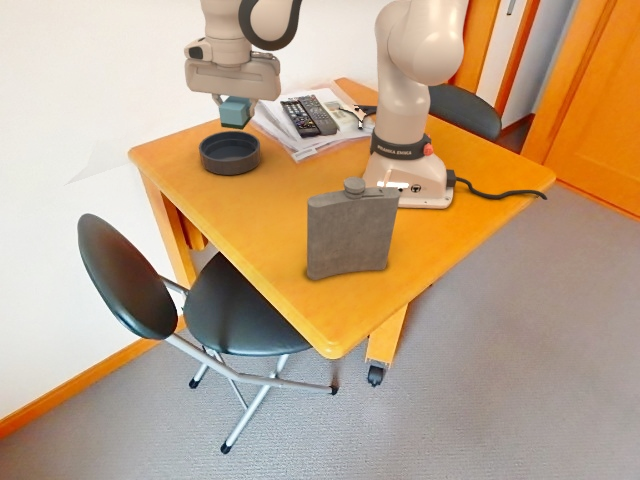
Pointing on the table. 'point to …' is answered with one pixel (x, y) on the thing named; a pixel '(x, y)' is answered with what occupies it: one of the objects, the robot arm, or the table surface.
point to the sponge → (234, 112)
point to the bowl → (230, 152)
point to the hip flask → (350, 229)
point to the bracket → (366, 110)
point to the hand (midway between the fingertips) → (237, 114)
